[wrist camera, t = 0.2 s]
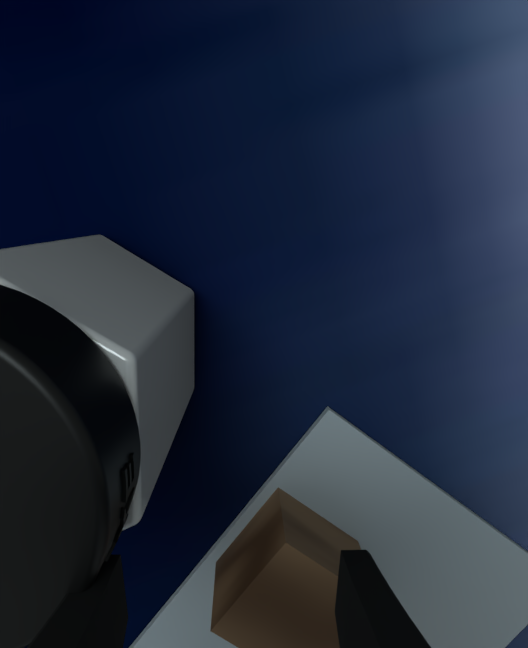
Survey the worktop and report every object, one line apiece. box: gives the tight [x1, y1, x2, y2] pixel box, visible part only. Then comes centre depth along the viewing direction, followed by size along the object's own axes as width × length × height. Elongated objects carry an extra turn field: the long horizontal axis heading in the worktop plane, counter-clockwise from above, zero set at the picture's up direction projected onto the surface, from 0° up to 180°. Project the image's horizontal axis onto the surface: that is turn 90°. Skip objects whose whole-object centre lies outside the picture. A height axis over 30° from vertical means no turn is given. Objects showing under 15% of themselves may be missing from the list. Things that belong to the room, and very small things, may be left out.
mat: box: [129, 406, 528, 648], centre depth 24 cm, size 20×16×1 cm
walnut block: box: [210, 487, 361, 648], centre depth 21 cm, size 5×5×4 cm
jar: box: [0, 235, 194, 648], centre depth 15 cm, size 9×8×12 cm
